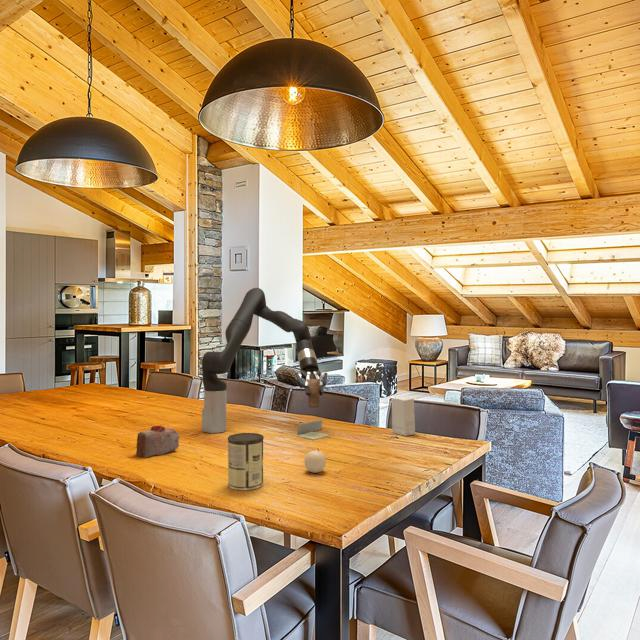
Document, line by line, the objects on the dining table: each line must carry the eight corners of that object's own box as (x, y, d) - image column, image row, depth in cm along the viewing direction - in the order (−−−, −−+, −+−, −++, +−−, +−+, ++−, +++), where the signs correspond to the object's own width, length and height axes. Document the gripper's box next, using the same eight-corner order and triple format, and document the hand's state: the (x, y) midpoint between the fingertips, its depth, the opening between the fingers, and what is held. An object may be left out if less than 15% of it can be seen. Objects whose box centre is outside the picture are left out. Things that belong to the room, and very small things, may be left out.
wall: (300, 434, 222) (300, 425, 221) (297, 434, 222) (297, 424, 222) (321, 429, 232) (321, 420, 232) (319, 428, 233) (319, 419, 233)
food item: (167, 447, 200) (167, 421, 199) (180, 451, 194) (181, 424, 194) (134, 455, 189) (134, 427, 189) (147, 459, 184) (147, 430, 184)
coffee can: (237, 478, 164) (238, 431, 164) (269, 481, 161) (269, 434, 160) (220, 488, 154) (221, 438, 154) (253, 492, 151) (254, 442, 151)
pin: (313, 408, 217) (313, 380, 216) (306, 406, 220) (306, 379, 220) (322, 406, 220) (322, 379, 219) (314, 405, 223) (314, 378, 223)
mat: (313, 440, 213) (313, 439, 213) (296, 436, 219) (296, 435, 219) (329, 435, 221) (329, 434, 221) (312, 432, 226) (312, 431, 226)
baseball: (325, 468, 174) (325, 447, 174) (326, 475, 167) (326, 453, 167) (304, 468, 174) (304, 447, 174) (304, 475, 167) (304, 453, 167)
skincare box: (415, 434, 223) (415, 398, 223) (404, 436, 220) (404, 399, 220) (401, 430, 230) (401, 396, 230) (390, 432, 227) (391, 397, 227)
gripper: (322, 367, 234) (330, 399, 222) (290, 367, 230) (296, 401, 219) (326, 355, 229) (334, 388, 217) (292, 356, 225) (299, 389, 213)
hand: (315, 394), depth 218 cm, fingers closed on pin, 4 cm apart
